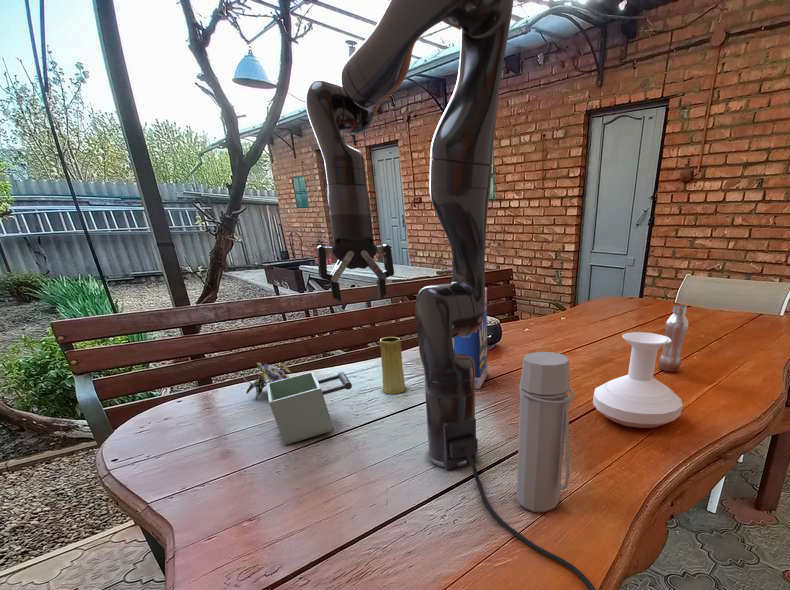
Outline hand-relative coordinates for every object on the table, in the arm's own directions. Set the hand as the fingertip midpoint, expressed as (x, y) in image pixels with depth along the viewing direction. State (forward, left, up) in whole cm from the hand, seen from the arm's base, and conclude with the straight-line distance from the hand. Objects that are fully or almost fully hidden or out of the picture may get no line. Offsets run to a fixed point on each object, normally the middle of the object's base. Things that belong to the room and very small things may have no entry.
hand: (360, 299), depth 87 cm
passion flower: (+28, +20, -28) cm, 45 cm away
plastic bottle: (-5, -91, -28) cm, 95 cm away
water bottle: (-43, -17, -28) cm, 54 cm away
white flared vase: (-25, -56, -28) cm, 68 cm away
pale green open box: (+4, +11, -27) cm, 29 cm away
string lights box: (+15, -32, -28) cm, 45 cm away
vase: (+18, -10, -28) cm, 35 cm away
